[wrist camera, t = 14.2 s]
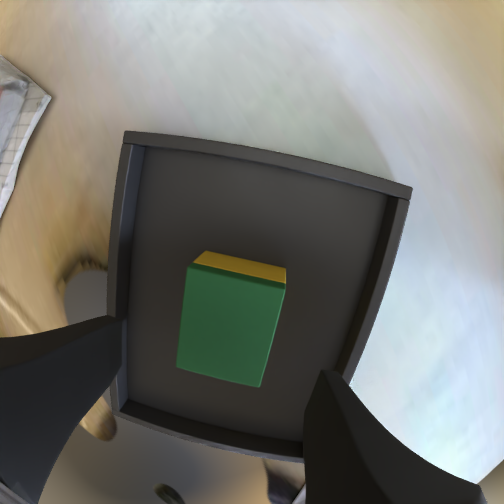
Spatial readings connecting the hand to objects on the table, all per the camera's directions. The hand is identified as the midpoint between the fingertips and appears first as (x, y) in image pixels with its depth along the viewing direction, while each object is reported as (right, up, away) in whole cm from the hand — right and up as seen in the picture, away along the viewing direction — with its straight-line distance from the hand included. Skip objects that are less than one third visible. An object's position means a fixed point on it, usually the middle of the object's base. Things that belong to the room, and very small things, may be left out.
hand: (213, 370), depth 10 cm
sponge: (+1, +1, +6) cm, 6 cm away
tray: (0, +1, +6) cm, 6 cm away
